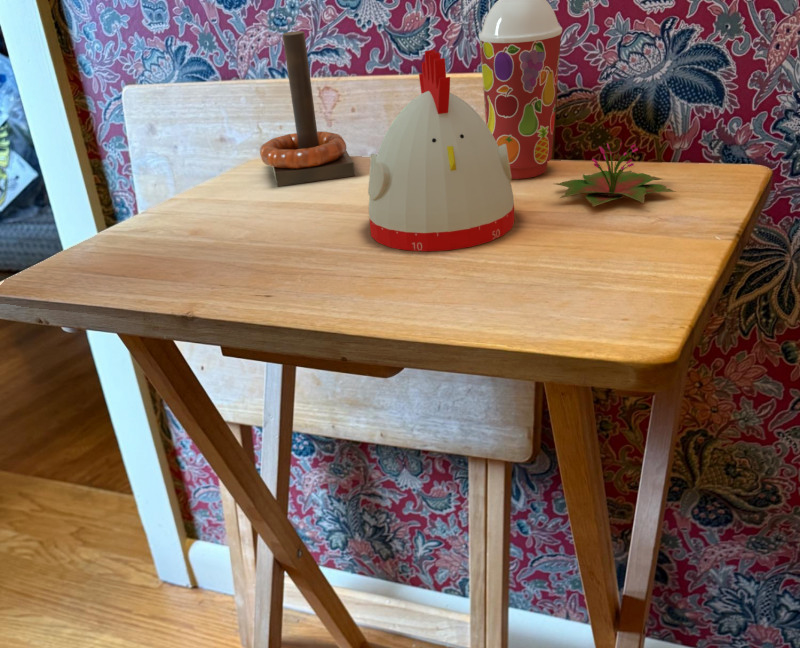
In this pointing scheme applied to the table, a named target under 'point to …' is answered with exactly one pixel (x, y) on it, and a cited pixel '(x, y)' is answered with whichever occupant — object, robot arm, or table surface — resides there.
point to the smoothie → (521, 81)
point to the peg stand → (306, 118)
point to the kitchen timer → (439, 173)
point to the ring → (302, 151)
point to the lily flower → (614, 182)
